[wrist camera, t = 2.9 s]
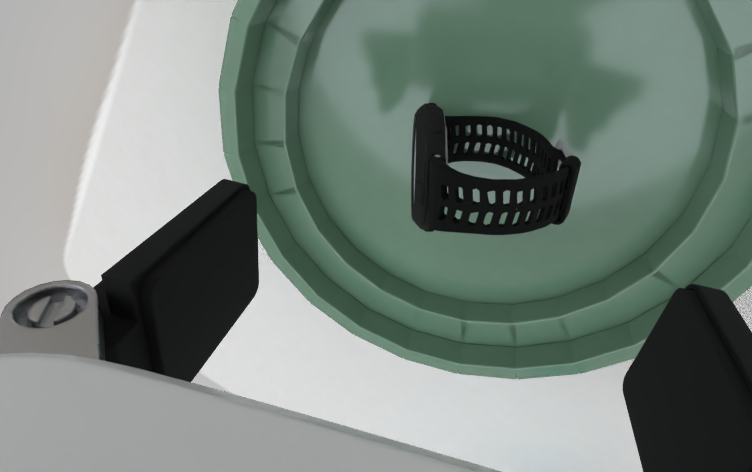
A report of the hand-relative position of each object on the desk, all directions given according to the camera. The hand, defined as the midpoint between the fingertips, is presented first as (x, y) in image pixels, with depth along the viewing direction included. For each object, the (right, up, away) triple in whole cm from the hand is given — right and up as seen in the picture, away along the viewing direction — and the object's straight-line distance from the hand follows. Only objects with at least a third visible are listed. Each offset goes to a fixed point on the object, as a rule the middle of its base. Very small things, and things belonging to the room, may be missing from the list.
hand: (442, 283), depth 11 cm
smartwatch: (+2, +4, +6) cm, 7 cm away
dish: (+2, +4, +6) cm, 8 cm away
